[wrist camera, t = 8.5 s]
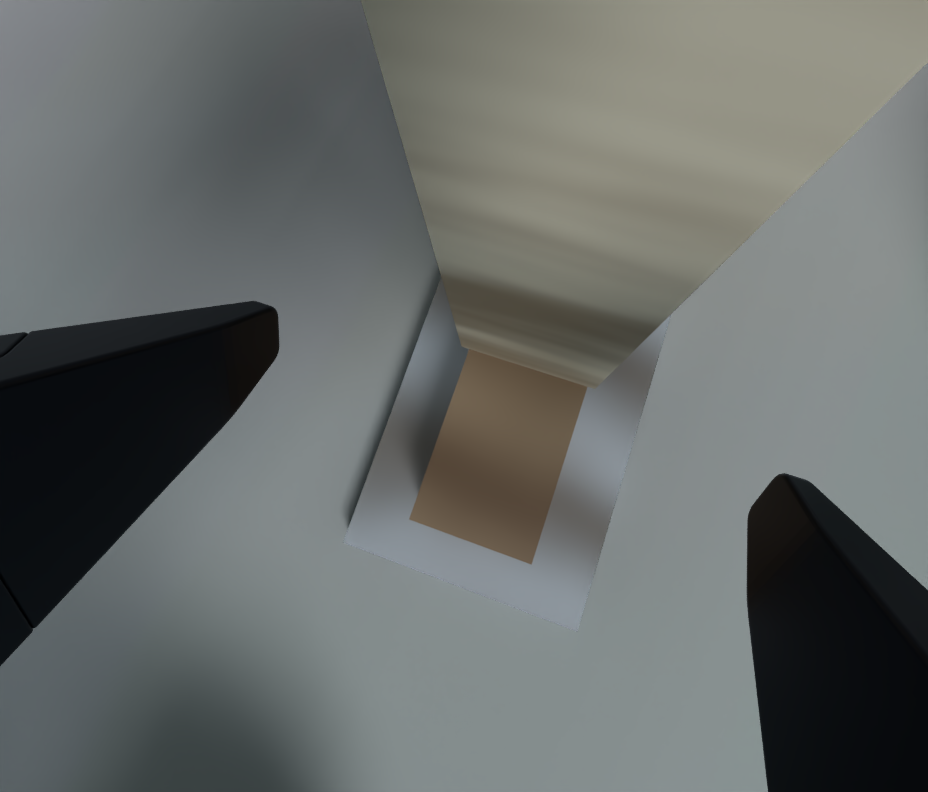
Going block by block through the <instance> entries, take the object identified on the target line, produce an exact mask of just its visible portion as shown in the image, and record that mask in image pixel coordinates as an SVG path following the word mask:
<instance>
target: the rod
mask: <svg viewBox="0 0 928 792" xmlns="http://www.w3.org/2000/svg"><path fill="white" fill-rule="evenodd" d="M361 3H362V7H363V10H364V13H365V17H366V20H367V24H368V27H369V31H370V34H371V37H372V41H373V44H374V48H375V51H376V55H377V58H378V61H379V65H380V68H381V72H382V75H383V79H384V82H385V85H386V89H387V92H388V96H389V99H390V103H391V106H392V109H393V113H394V116H395V120H396V123H397V127H398V130H399V133H400V137H401V140H402V144H403V147H404V151H405V154H406V157H407V161H408V164H409V168H410V171H411V175H412V178H413V181H414V185H415V188H416V192H417V195H418V199H419V202H420V205H421V209H422V212H423V216H424V219H425V223H426V226H427V229H428V233H429V236H430V240H431V243H432V247H433V250H434V253H435V257H436V260H437V264H438V267H439V271H440V274H441V277H442V281H443V284H444V288H445V291H446V295H447V298H448V301H449V305H450V308H451V312H452V315H453V319H454V322H455V325H456V329H457V332H458V336H459V339H460V343H461V346H462V347H464V348H468V349H471V350H474V351H477V352H480V353H483V354H486V355H489V356H493V357H496V358H499V359H502V360H505V361H508V362H511V363H515V364H518V365H521V366H524V367H527V368H530V369H533V370H537V371H540V372H543V373H546V374H549V375H552V376H555V377H558V378H562V379H565V380H568V381H571V382H574V383H577V384H580V385H584V386H587V387H590V388H593V389H596V388H597V387H598V386H599V385H600V384H601V383H602V382H603V381H604V380H605V379H606V378H607V377H608V376H609V375H610V374H611V373H612V372H613V371H614V370H615V369H616V368H617V367H618V366H619V365H620V364H621V363H622V362H623V361H624V360H625V359H626V358H627V357H628V356H629V355H630V354H631V353H632V352H633V351H634V350H635V349H636V348H637V347H638V346H639V345H640V344H641V343H642V342H643V341H644V340H645V339H646V338H647V337H649V336H650V335H651V334H652V333H653V332H654V331H655V330H656V329H657V328H658V327H659V326H660V325H661V324H662V323H663V322H664V321H665V320H666V319H667V318H668V317H669V316H670V315H671V314H672V313H673V312H674V311H675V310H676V309H677V308H678V307H679V306H680V305H681V304H682V303H683V302H684V301H685V300H686V299H687V298H688V297H689V296H690V295H691V294H692V293H693V292H694V291H695V290H696V289H697V288H698V287H699V286H700V285H702V284H703V283H704V282H705V281H706V280H707V279H708V278H709V277H710V276H711V275H712V274H713V273H714V272H715V271H716V270H717V269H718V268H719V267H720V266H721V265H722V264H723V263H724V262H725V261H726V260H727V259H728V258H729V257H730V256H731V255H732V254H733V253H734V252H735V251H736V250H737V249H738V248H739V247H740V246H741V245H742V244H743V243H744V242H745V241H746V240H747V239H748V238H749V237H750V236H751V235H752V234H753V233H754V232H756V231H757V230H758V229H759V228H760V227H761V226H762V225H763V224H764V223H765V222H766V221H767V220H768V219H769V218H770V217H771V216H772V215H773V214H774V213H775V212H776V211H777V210H778V209H779V208H780V207H781V206H782V205H783V204H784V203H785V202H786V201H787V200H788V199H789V198H790V197H791V196H792V195H793V194H794V193H795V192H796V191H797V190H798V189H799V188H800V187H801V186H802V185H803V184H804V183H805V182H806V181H807V180H809V179H810V178H811V177H812V176H813V175H814V174H815V173H816V172H817V171H818V170H819V169H820V168H821V167H822V166H823V165H824V164H825V163H826V162H827V161H828V160H829V159H830V158H831V157H832V156H833V155H834V154H835V153H836V152H837V151H838V150H839V149H840V148H841V147H842V146H843V145H844V144H845V143H846V142H847V141H848V140H849V139H850V138H851V137H852V136H853V135H854V134H855V133H856V132H857V131H858V130H859V129H860V128H861V127H863V126H864V125H865V124H866V123H867V122H868V121H869V120H870V119H871V118H872V117H873V116H874V115H875V114H876V113H877V112H878V111H879V110H880V109H881V108H882V107H883V106H884V105H885V104H886V103H887V102H888V101H889V100H890V99H891V98H892V97H893V96H894V95H895V94H896V93H897V92H898V91H899V90H900V89H901V88H902V87H903V86H904V85H905V84H906V83H907V82H908V81H909V80H910V79H911V78H912V77H913V76H914V75H915V74H917V73H918V72H919V71H920V70H921V69H922V68H923V67H924V66H925V65H926V64H927V63H928V0H361Z"/></svg>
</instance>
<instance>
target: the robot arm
mask: <svg viewBox="0 0 928 792" xmlns="http://www.w3.org/2000/svg"><path fill="white" fill-rule="evenodd" d="M278 351H279V326H278V313H277V311H276V309H275V308H274V307H272V306H269V305H266V304H263V303H260V302H257V301H249V302H242V303H234V304H227V305H220V306H213V307H205V308H198V309H191V310H183V311H176V312H169V313H162V314H154V315H147V316H140V317H132V318H125V319H118V320H111V321H103V322H96V323H89V324H81V325H74V326H67V327H60V328H52V329H45V330H38V331H32V332H30V333H29V334H27V333H25V332H22V333H15V334H8V335H1V336H0V666H1V665H2V664H3V663H4V662H5V661H6V660H7V658H8V657H9V656H10V655H11V654H12V653H13V652H14V651H15V650H16V649H17V648H18V647H19V646H20V645H21V643H22V642H23V641H24V640H25V639H26V638H27V637H28V636H29V635H30V634H31V633H32V631H33V629H32V628H36V627H37V626H38V625H39V624H40V623H41V622H42V620H43V619H44V618H45V617H46V616H47V615H48V614H49V613H50V612H51V611H52V610H53V609H54V608H55V607H56V605H57V604H58V603H59V602H60V601H61V600H62V599H63V598H64V597H65V596H66V595H67V594H68V593H69V591H70V590H71V589H72V588H73V587H74V586H75V585H76V584H77V583H78V582H79V581H80V580H81V579H82V578H83V576H84V575H85V574H86V573H87V572H88V571H89V570H90V569H91V568H92V567H93V566H94V565H95V564H96V563H97V561H98V560H99V559H100V558H101V557H102V556H103V555H104V554H105V553H106V552H107V551H108V550H109V549H110V548H111V546H112V545H113V544H114V543H115V542H116V541H117V540H118V539H119V538H120V537H121V536H122V535H123V534H124V533H125V531H126V530H127V529H128V528H129V527H130V526H131V525H132V524H133V523H134V522H135V521H136V520H137V519H138V518H139V516H140V515H141V514H142V513H143V512H144V511H145V510H146V509H147V508H148V507H149V506H150V505H151V504H152V503H153V501H154V500H155V499H156V498H157V497H158V496H159V495H160V494H161V493H162V492H163V491H164V490H165V489H166V488H167V486H168V485H169V484H170V483H171V482H172V481H173V480H174V479H175V478H176V477H177V476H178V475H179V474H180V473H181V471H182V470H183V469H184V468H185V467H186V466H187V465H188V464H189V463H190V462H191V461H192V460H193V459H194V458H195V456H196V455H197V454H198V453H199V452H200V451H201V450H202V449H203V448H204V447H205V446H206V445H207V444H208V442H209V441H210V440H211V439H212V438H213V437H214V436H215V435H216V434H217V433H218V432H219V431H220V430H221V429H222V427H223V426H224V425H225V424H226V423H227V422H228V421H229V420H230V418H231V417H232V416H233V415H234V414H235V412H236V411H237V410H238V409H239V407H240V406H241V405H242V403H243V402H244V401H245V399H246V398H247V397H248V395H249V394H250V393H251V391H252V390H253V388H254V387H255V386H256V384H257V383H258V382H259V380H260V379H261V378H262V376H263V375H264V374H265V372H266V371H267V370H268V368H269V367H270V366H271V364H272V363H273V361H274V360H275V358H276V357H277V354H278ZM747 607H748V618H749V627H750V636H751V645H752V653H753V662H754V671H755V680H756V689H757V698H758V707H759V716H760V724H761V733H762V742H763V751H764V760H765V769H766V778H767V786H768V792H928V590H927V589H926V588H925V587H924V586H922V585H921V584H920V583H919V582H918V581H917V580H916V579H915V578H914V577H913V576H912V575H911V574H909V573H908V572H907V571H906V570H905V569H904V568H903V567H902V566H901V565H900V564H899V563H898V562H896V561H895V560H894V559H893V558H892V557H891V556H890V555H889V554H888V553H887V552H886V551H885V550H883V549H882V548H881V547H880V546H879V545H878V544H877V543H876V542H875V541H874V540H873V539H872V538H870V537H869V536H868V535H867V534H866V533H865V532H864V531H863V530H862V529H861V528H860V527H859V526H857V525H856V524H855V523H854V522H853V521H852V520H851V519H850V518H849V517H848V516H847V515H846V514H844V513H843V512H842V511H841V510H840V509H839V508H838V507H837V506H836V505H835V504H834V503H833V502H832V501H830V500H829V499H828V498H827V497H826V496H825V495H824V494H823V493H822V492H821V491H820V490H819V489H817V488H816V487H815V486H814V485H813V484H812V483H811V482H809V481H807V480H805V479H801V478H798V477H795V476H792V475H789V474H785V473H784V474H779V475H777V476H776V477H775V478H774V479H773V480H772V481H771V482H770V484H769V485H768V486H767V488H766V489H765V490H764V491H763V493H762V494H761V495H760V496H759V498H758V499H757V500H756V501H755V503H754V504H753V505H752V507H751V509H750V511H749V514H748V528H747Z"/></svg>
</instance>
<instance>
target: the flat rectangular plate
mask: <svg viewBox="0 0 928 792" xmlns="http://www.w3.org/2000/svg"><path fill="white" fill-rule="evenodd" d="M670 317H671V315H670V316H669V317H668V318H667V319H666V320H665V321H664V322H663V323H662V324H661V325H660V326H659V327H658V328H657V329H656V330H655V331H654V332H653V333H652V334H651V335H650V336H649V337H647V338H646V339H645V340H644V341H643V342H642V343H641V344H640V345H639V346H638V347H637V348H636V349H635V350H634V351H633V352H632V353H631V354H630V355H629V356H628V357H627V358H626V359H625V360H624V361H623V362H622V363H621V364H620V365H619V366H618V367H617V368H616V369H615V370H614V371H613V372H612V373H611V374H610V375H609V376H608V377H607V378H606V379H605V380H604V381H603V382H602V383H601V384H600V385H599V386H598V387H597V388H596V389H593V388H590V387H587V386H584V385H580V384H577V383H574V382H571V381H568V380H565V379H562V378H558V377H555V376H552V375H549V374H546V373H543V372H540V371H537V370H533V369H530V368H527V367H524V366H521V365H518V364H515V363H511V362H508V361H505V360H502V359H499V358H496V357H493V356H489V355H486V354H483V353H480V352H477V351H474V350H471V349H468V348H464V347H462V346H461V343H460V339H459V336H458V332H457V329H456V325H455V322H454V319H453V315H452V312H451V308H450V305H449V301H448V298H447V295H446V291H445V288H444V284H443V281H442V277H441V278H440V281H439V284H438V287H437V289H436V292H435V295H434V297H433V300H432V303H431V306H430V308H429V311H428V314H427V316H426V319H425V322H424V324H423V327H422V330H421V333H420V335H419V338H418V341H417V343H416V346H415V349H414V352H413V354H412V357H411V360H410V362H409V365H408V368H407V370H406V373H405V376H404V379H403V381H402V384H401V387H400V389H399V392H398V395H397V398H396V400H395V403H394V406H393V408H392V411H391V414H390V416H389V419H388V422H387V425H386V427H385V430H384V433H383V435H382V438H381V441H380V444H379V446H378V449H377V452H376V454H375V457H374V460H373V462H372V465H371V468H370V471H369V473H368V476H367V479H366V481H365V484H364V487H363V490H362V492H361V495H360V498H359V500H358V503H357V506H356V508H355V511H354V514H353V517H352V519H351V522H350V525H349V527H348V530H347V533H346V536H345V538H344V541H343V543H346V544H348V545H351V546H354V547H356V548H359V549H362V550H364V551H367V552H369V553H372V554H375V555H377V556H380V557H382V558H385V559H388V560H390V561H393V562H396V563H398V564H401V565H403V566H406V567H409V568H411V569H414V570H417V571H419V572H422V573H424V574H427V575H430V576H432V577H435V578H437V579H440V580H443V581H445V582H448V583H451V584H453V585H456V586H458V587H461V588H464V589H466V590H469V591H472V592H474V593H477V594H479V595H482V596H485V597H487V598H490V599H493V600H495V601H498V602H500V603H503V604H506V605H508V606H511V607H513V608H516V609H519V610H521V611H524V612H527V613H529V614H532V615H534V616H537V617H540V618H542V619H545V620H548V621H550V622H553V623H555V624H558V625H561V626H563V627H566V628H568V629H571V630H574V631H576V632H577V631H578V627H579V624H580V621H581V617H582V614H583V611H584V607H585V604H586V600H587V597H588V594H589V590H590V587H591V584H592V580H593V577H594V573H595V570H596V567H597V563H598V560H599V557H600V553H601V550H602V546H603V543H604V540H605V536H606V533H607V530H608V526H609V523H610V519H611V516H612V513H613V509H614V506H615V503H616V499H617V496H618V492H619V489H620V486H621V482H622V479H623V476H624V472H625V469H626V465H627V462H628V459H629V455H630V452H631V449H632V445H633V442H634V438H635V435H636V432H637V428H638V425H639V422H640V418H641V415H642V411H643V408H644V405H645V401H646V398H647V395H648V391H649V388H650V384H651V381H652V378H653V374H654V371H655V368H656V364H657V361H658V357H659V354H660V351H661V347H662V344H663V341H664V337H665V334H666V330H667V327H668V324H669V320H670Z"/></svg>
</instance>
